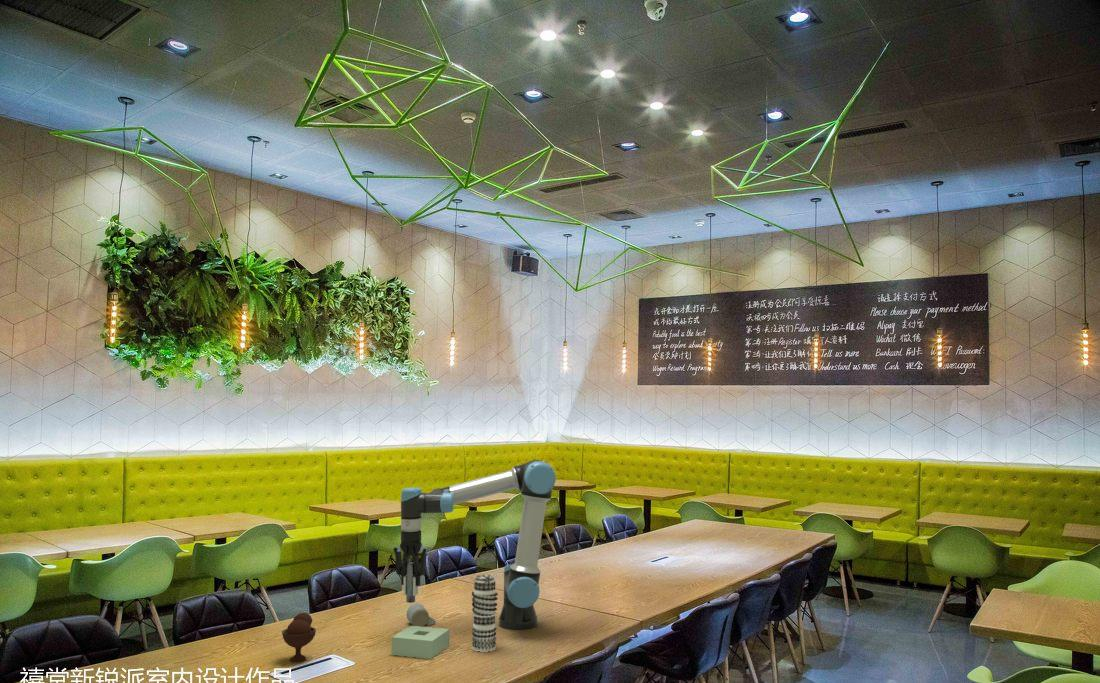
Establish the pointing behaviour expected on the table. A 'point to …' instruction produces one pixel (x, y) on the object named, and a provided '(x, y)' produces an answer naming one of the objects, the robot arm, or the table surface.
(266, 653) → the table surface
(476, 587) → the decorative candle
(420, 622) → the ceramic mug
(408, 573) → the pin
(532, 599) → the robot arm
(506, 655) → the table surface
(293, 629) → the ice cream bowl
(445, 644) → the socket block
